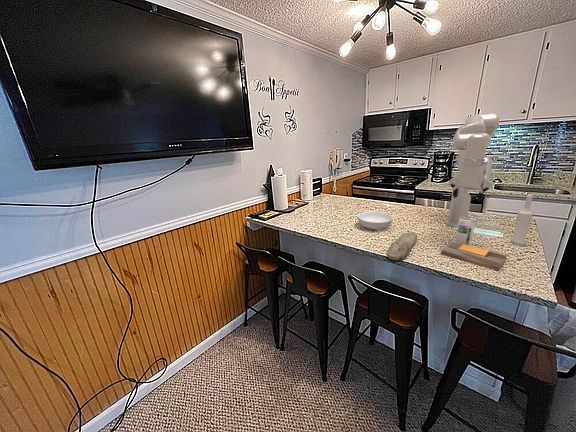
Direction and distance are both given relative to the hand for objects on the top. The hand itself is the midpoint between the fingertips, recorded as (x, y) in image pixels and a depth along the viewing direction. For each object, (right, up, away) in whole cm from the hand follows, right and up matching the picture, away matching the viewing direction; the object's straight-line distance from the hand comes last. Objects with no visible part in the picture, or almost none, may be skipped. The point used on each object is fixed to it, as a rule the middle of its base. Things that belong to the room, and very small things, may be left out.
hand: (466, 199), depth 118 cm
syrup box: (+3, -23, +8) cm, 25 cm away
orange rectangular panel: (-1, -25, -5) cm, 25 cm away
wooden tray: (0, -27, -4) cm, 28 cm away
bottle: (+30, -22, +6) cm, 38 cm away
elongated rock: (-26, -25, +10) cm, 37 cm away
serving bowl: (-31, -15, +39) cm, 52 cm away
